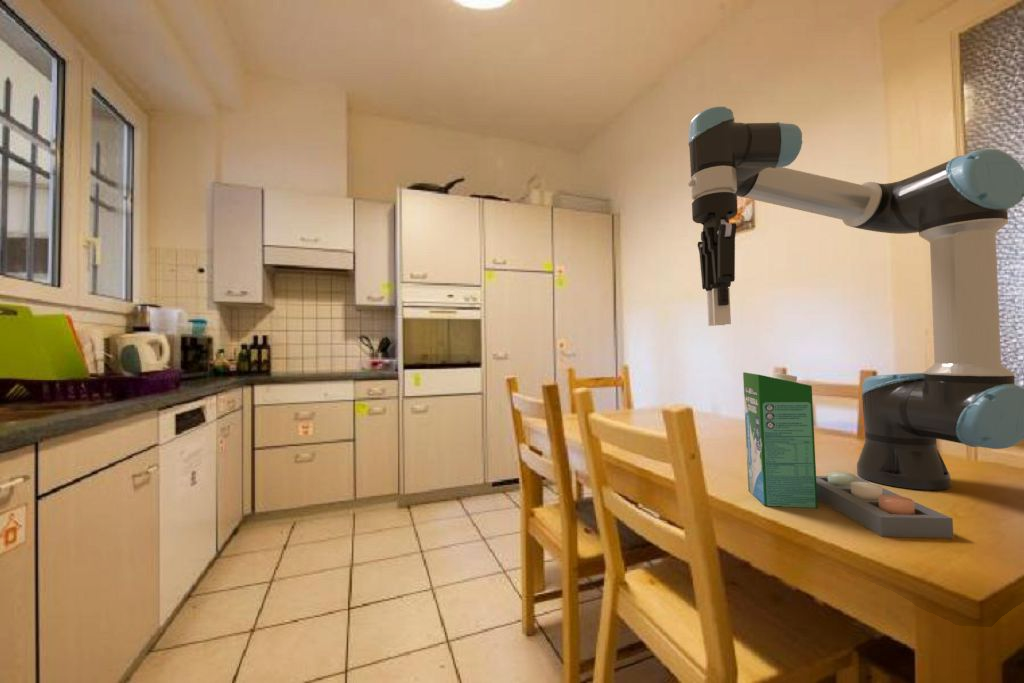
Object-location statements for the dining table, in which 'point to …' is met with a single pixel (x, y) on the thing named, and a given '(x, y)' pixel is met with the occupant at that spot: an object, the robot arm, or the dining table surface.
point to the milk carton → (780, 440)
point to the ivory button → (866, 490)
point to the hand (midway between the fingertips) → (719, 324)
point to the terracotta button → (896, 504)
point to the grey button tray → (884, 513)
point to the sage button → (841, 478)
